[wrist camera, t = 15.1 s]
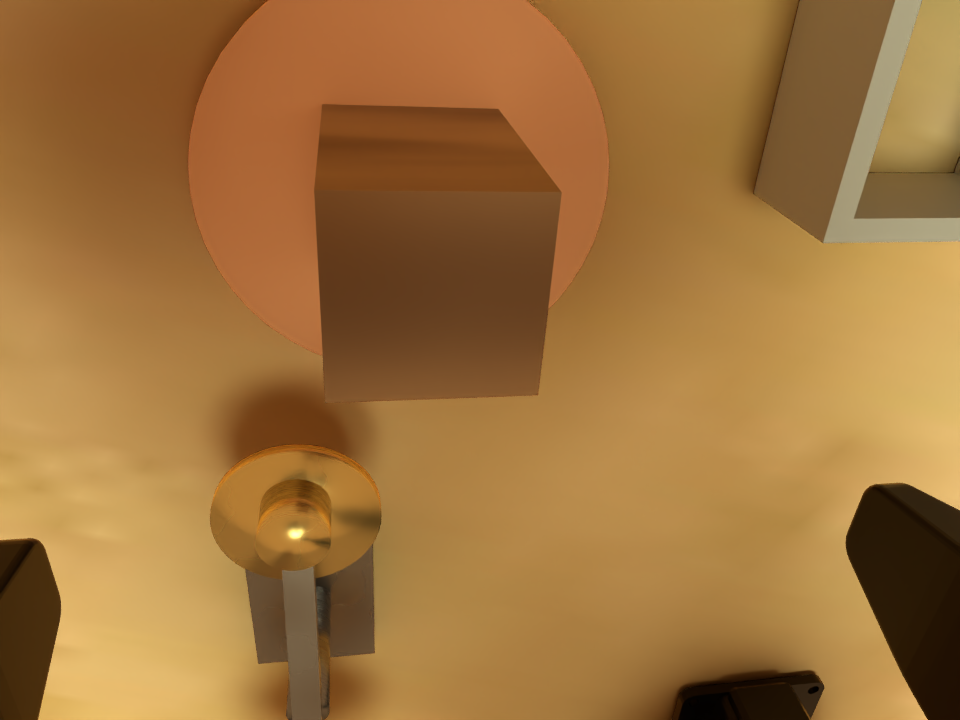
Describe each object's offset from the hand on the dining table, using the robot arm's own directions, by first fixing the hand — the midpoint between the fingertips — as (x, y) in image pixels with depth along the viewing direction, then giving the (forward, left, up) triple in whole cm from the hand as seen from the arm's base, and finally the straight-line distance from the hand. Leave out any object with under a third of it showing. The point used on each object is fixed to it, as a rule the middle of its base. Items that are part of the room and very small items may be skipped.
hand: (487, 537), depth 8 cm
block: (0, 0, -12) cm, 12 cm away
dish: (0, 0, -13) cm, 13 cm away
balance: (-14, +3, -13) cm, 19 cm away
